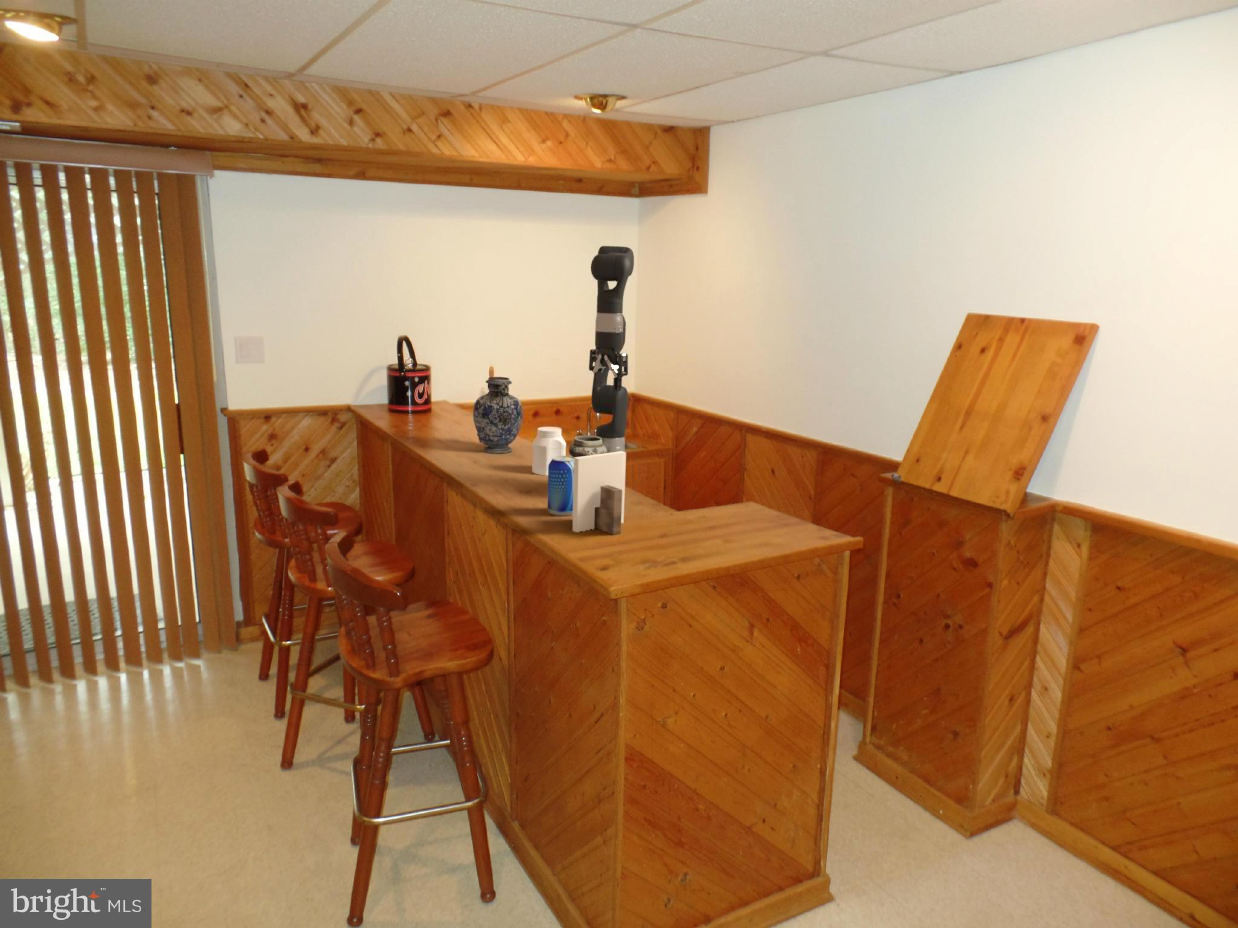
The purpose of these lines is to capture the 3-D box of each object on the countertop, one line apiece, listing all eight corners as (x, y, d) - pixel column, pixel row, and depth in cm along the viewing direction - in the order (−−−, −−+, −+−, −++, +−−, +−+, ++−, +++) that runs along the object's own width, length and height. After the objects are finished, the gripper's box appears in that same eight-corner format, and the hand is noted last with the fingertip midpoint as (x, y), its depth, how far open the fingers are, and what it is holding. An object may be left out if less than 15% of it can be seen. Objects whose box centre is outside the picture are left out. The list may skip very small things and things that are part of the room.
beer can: (582, 511, 245) (583, 457, 241) (566, 518, 238) (567, 462, 234) (558, 506, 249) (559, 453, 245) (541, 513, 242) (542, 458, 238)
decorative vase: (466, 446, 328) (466, 374, 322) (512, 444, 336) (513, 374, 330) (481, 458, 309) (482, 381, 303) (529, 455, 317) (531, 381, 311)
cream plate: (576, 532, 225) (578, 458, 221) (572, 530, 226) (574, 457, 222) (623, 523, 235) (626, 452, 230) (619, 521, 236) (621, 451, 232)
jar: (557, 467, 299) (558, 425, 296) (570, 473, 291) (570, 430, 288) (527, 470, 293) (528, 427, 290) (539, 476, 285) (539, 432, 282)
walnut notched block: (577, 520, 236) (578, 478, 233) (584, 519, 237) (585, 477, 235) (613, 534, 224) (614, 491, 221) (620, 533, 225) (622, 489, 223)
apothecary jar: (601, 501, 256) (602, 443, 252) (562, 498, 259) (563, 440, 255) (609, 491, 268) (611, 435, 264) (572, 488, 270) (573, 433, 266)
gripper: (582, 328, 234) (581, 386, 237) (614, 332, 223) (612, 393, 227) (603, 327, 238) (602, 385, 242) (636, 331, 228) (634, 391, 231)
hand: (607, 389), depth 234 cm, fingers open, 8 cm apart
